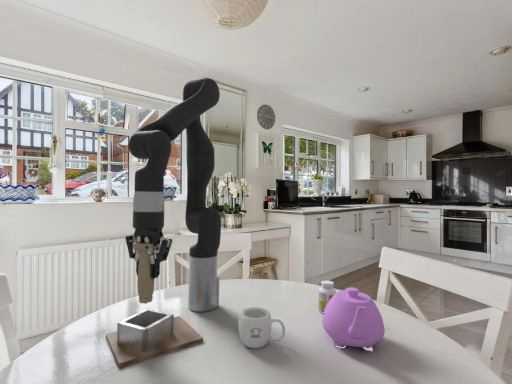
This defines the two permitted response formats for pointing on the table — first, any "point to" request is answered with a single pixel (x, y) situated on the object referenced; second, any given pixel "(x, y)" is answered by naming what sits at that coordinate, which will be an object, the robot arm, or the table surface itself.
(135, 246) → the handle
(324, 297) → the supplement bottle
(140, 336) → the collar
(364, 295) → the teapot
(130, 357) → the walnut board
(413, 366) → the table surface
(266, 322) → the mug
